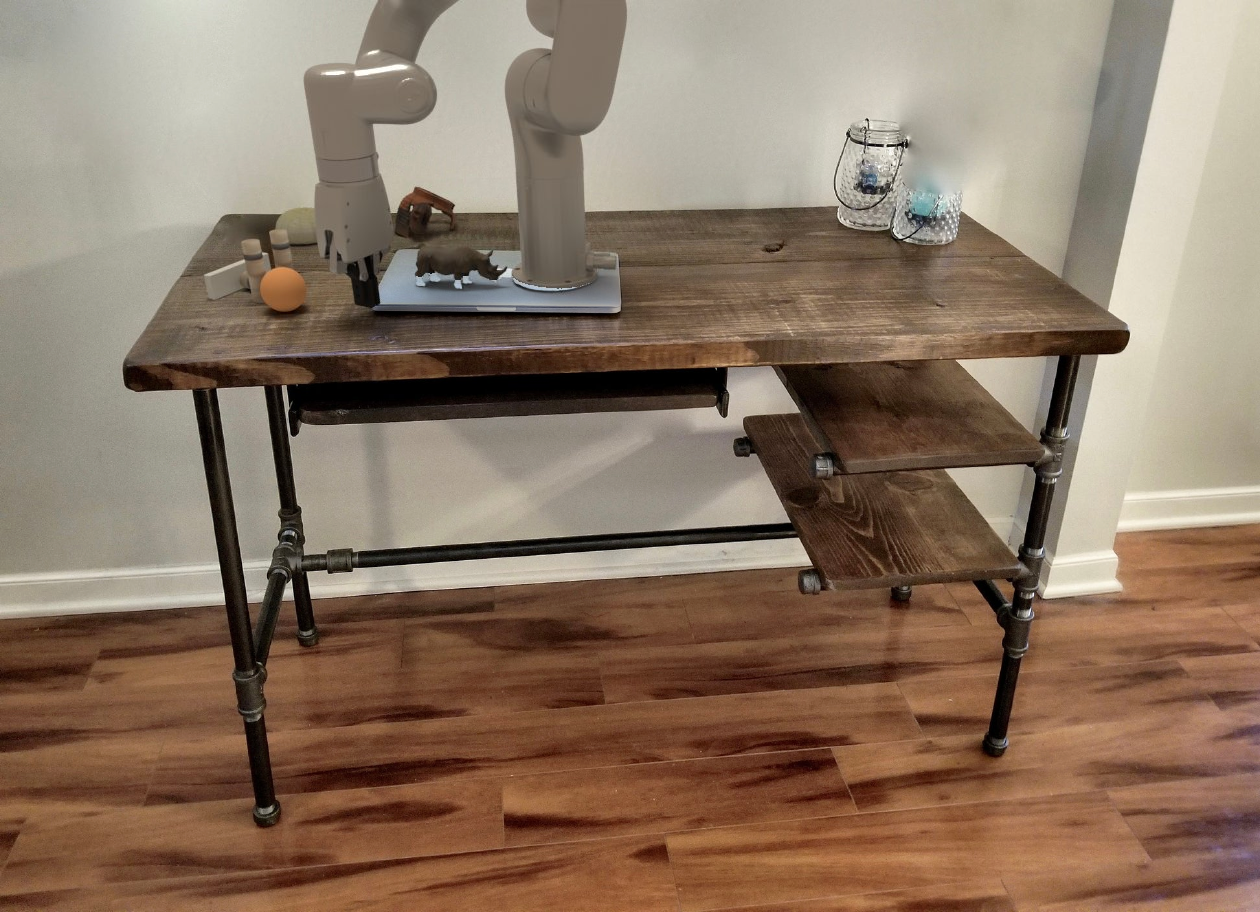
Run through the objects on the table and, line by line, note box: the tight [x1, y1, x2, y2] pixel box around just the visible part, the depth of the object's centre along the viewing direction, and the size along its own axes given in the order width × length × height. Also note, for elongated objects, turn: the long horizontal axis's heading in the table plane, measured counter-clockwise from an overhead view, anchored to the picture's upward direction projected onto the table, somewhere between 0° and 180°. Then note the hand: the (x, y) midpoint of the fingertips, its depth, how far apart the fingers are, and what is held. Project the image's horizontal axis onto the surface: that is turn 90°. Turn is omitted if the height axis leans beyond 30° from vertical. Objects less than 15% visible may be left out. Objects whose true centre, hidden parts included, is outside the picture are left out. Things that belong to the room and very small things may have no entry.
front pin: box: [240, 271, 251, 290], centre depth 148 cm, size 2×2×8 cm
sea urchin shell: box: [274, 206, 318, 245], centre depth 170 cm, size 9×8×8 cm
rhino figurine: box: [414, 244, 508, 281], centre depth 149 cm, size 4×14×6 cm, turn 81°
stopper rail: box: [203, 251, 272, 301], centre depth 150 cm, size 1×11×4 cm, turn 151°
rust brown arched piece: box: [394, 186, 456, 239], centre depth 172 cm, size 12×10×8 cm
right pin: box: [269, 229, 295, 270], centre depth 148 cm, size 2×2×8 cm
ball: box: [260, 267, 308, 313], centre depth 141 cm, size 6×6×6 cm
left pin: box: [240, 238, 266, 304], centre depth 144 cm, size 2×2×8 cm
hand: (367, 304), depth 140 cm, fingers closed
